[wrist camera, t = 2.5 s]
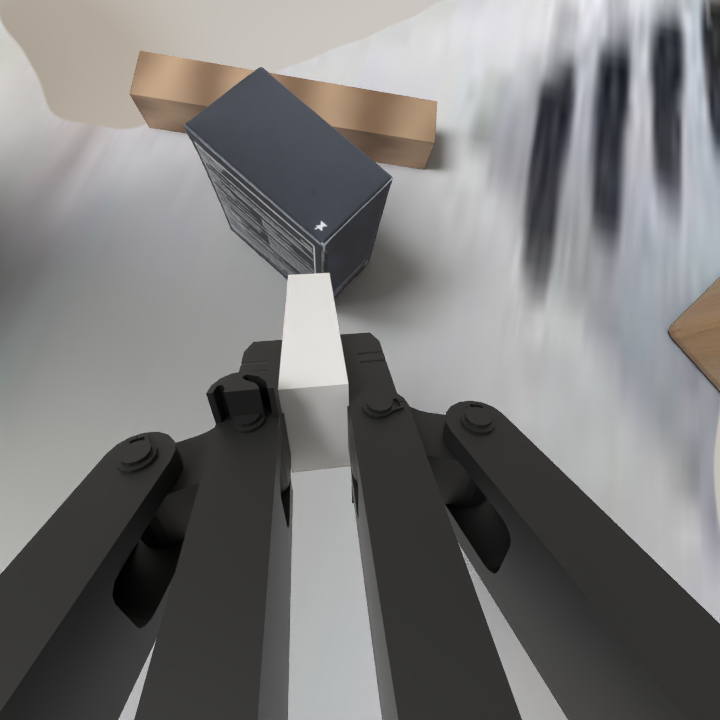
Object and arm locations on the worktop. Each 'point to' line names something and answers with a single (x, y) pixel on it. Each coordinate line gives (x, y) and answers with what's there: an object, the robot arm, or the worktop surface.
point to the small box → (290, 180)
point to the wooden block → (701, 333)
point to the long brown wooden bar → (330, 101)
